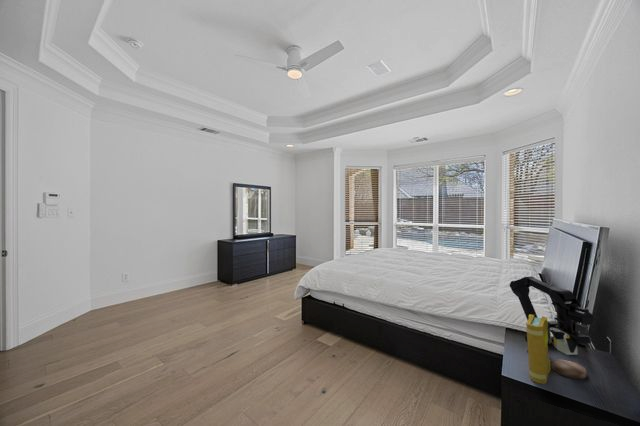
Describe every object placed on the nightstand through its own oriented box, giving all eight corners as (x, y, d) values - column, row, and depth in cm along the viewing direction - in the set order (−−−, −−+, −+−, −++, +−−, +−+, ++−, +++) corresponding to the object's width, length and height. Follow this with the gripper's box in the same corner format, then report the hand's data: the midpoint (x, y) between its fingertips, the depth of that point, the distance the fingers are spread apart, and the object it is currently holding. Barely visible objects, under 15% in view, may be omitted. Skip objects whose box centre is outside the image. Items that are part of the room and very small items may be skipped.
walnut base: (567, 379, 117) (566, 373, 118) (545, 364, 129) (544, 359, 130) (594, 378, 117) (594, 373, 117) (570, 364, 129) (569, 359, 129)
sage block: (566, 354, 121) (565, 343, 121) (557, 349, 126) (556, 339, 126) (577, 354, 121) (576, 343, 121) (567, 349, 126) (567, 338, 126)
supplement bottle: (566, 346, 147) (564, 323, 147) (573, 351, 140) (571, 327, 141) (551, 344, 149) (549, 322, 149) (557, 350, 143) (556, 326, 143)
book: (532, 364, 130) (529, 314, 131) (550, 369, 125) (547, 317, 126) (527, 379, 118) (524, 324, 119) (547, 385, 113) (543, 328, 114)
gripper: (602, 324, 114) (605, 359, 114) (564, 309, 133) (566, 340, 133) (576, 324, 115) (579, 360, 114) (542, 310, 134) (544, 340, 133)
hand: (566, 349), depth 124 cm, fingers closed on sage block, 5 cm apart
